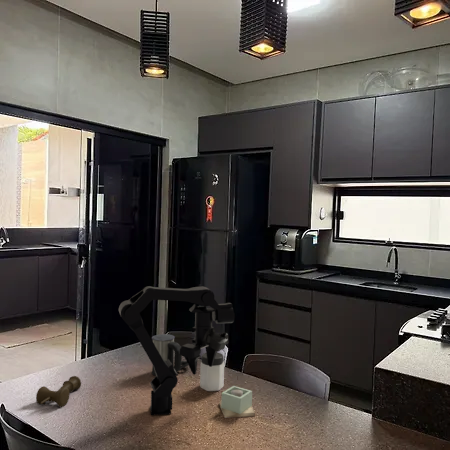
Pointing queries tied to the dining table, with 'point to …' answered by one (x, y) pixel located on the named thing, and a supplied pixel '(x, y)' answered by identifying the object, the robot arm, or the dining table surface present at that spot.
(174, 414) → the dining table surface
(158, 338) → the milk frother
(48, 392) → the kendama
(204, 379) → the jar
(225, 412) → the knob on square plate
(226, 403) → the sleeve
